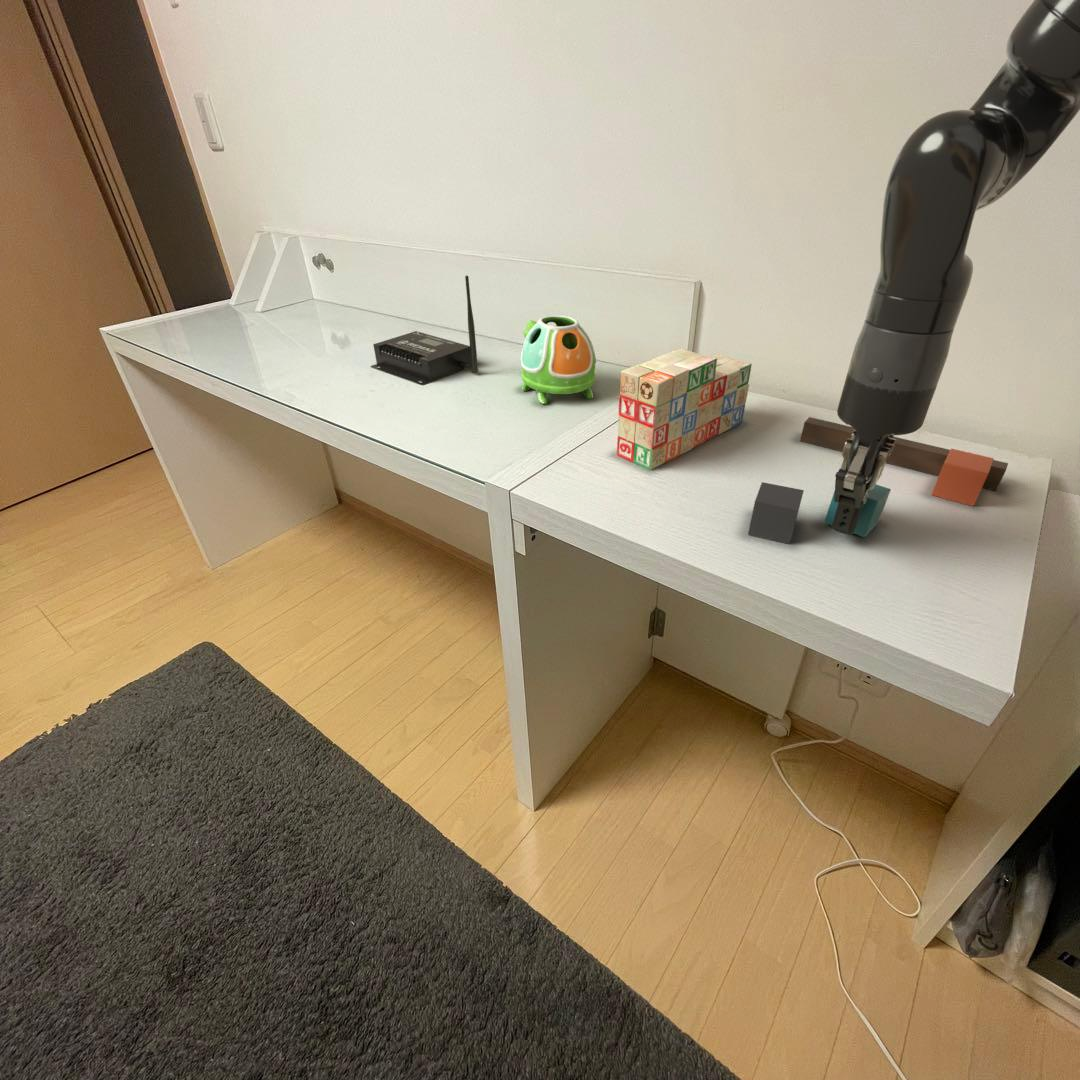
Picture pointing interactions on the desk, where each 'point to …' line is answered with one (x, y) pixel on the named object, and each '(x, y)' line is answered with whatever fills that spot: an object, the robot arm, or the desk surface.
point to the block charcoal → (775, 512)
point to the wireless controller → (427, 354)
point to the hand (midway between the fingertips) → (843, 529)
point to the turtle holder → (557, 358)
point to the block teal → (865, 510)
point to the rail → (903, 452)
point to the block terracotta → (962, 477)
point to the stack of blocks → (678, 404)
